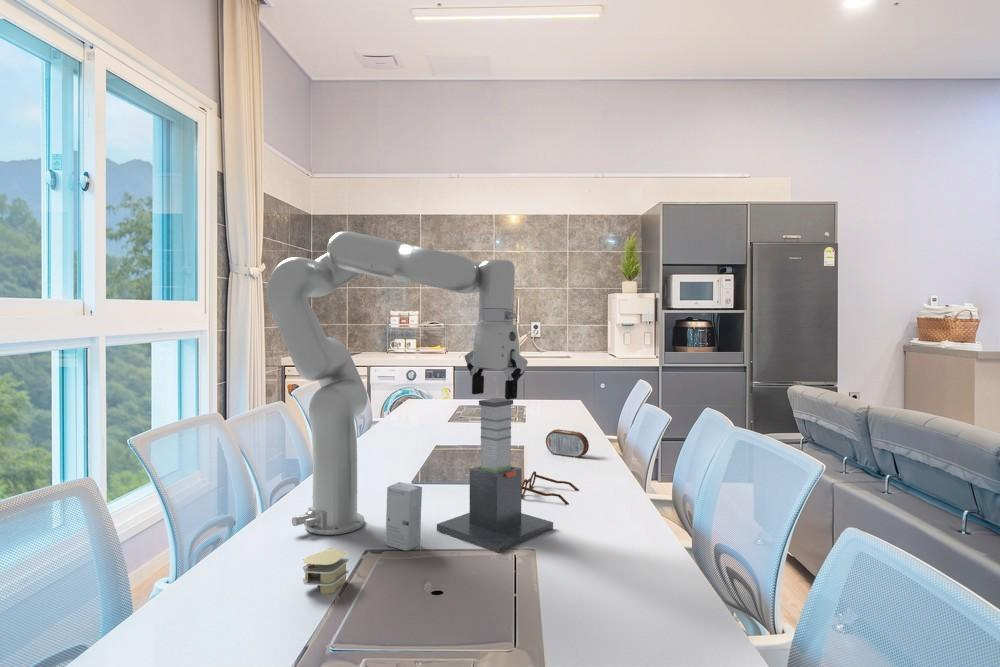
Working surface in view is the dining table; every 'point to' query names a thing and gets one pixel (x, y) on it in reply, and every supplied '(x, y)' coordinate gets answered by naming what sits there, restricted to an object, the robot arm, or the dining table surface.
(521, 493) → the glasses
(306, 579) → the beige layered block
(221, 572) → the dining table surface
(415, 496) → the skincare box
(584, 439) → the tin
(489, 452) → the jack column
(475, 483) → the base
